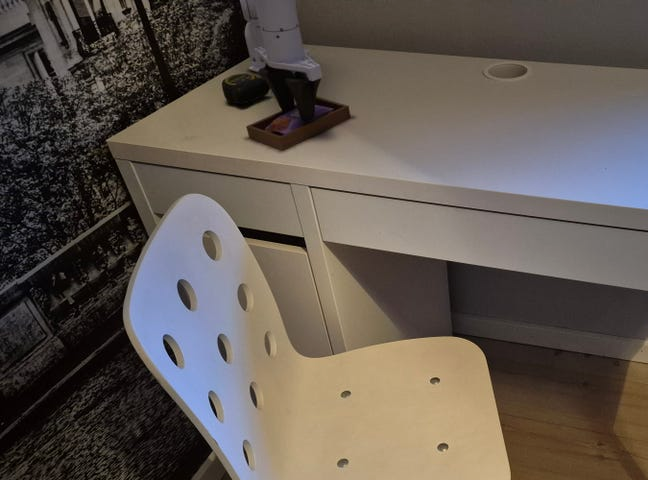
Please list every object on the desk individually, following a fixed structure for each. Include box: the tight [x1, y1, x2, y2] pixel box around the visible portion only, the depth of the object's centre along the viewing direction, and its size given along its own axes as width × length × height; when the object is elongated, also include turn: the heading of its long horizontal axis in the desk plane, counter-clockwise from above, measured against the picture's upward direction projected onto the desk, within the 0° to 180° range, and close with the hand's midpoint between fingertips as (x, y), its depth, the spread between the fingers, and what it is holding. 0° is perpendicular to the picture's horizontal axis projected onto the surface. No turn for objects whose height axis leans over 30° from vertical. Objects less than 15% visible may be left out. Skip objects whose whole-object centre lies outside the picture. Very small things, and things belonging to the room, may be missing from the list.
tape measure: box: [221, 73, 271, 104], centre depth 120 cm, size 7×7×4 cm
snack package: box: [265, 105, 333, 134], centre depth 111 cm, size 12×2×5 cm
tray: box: [245, 95, 351, 151], centre depth 111 cm, size 15×8×2 cm, turn 144°
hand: (298, 114), depth 110 cm, fingers open, 5 cm apart
